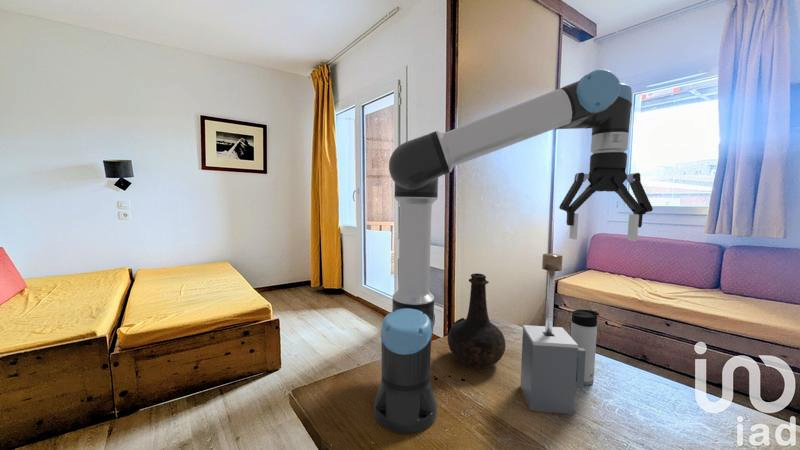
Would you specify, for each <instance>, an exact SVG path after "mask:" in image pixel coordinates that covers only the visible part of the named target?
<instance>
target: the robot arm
mask: <svg viewBox="0 0 800 450" xmlns="http://www.w3.org/2000/svg"><path fill="white" fill-rule="evenodd" d="M619 79H620V78H619V77H618V76H617V75H616V73H614V72H612V71H611V70H608V69H601V68H600V69H595V70H593V71H591V72H589V73H588V74H585V75H584V76H582V77H581V78H580V79H579V80H578V81H575V82H572V83H570V84H568V85H564V86H562V87H560V88H557V89H555V90H554V89H553V90H551V91H549V92H546V93H544V94H542V95H540V96H539V95H538V96H535V97H534V98H531V99H529V100H526V101H523V102H520V103H519V104H515V105H513V106H510V107H508V108H505V109H503V110H501V111H500V110H499V111H498V112H494V113H492V114H489V115H488V116H485V117H482V118H479V119H477V120H475V121H471V122H469V123H467V124H464V125H462V126H459V127H455V128H454V129H452V130H449V131H446V132H442V131H441V132H440V131H438V130H435V131H433V132H429V133H428V134H425V135H422V136H420V137H416V138H413V139H411V140H407V141H405V142H403V143H400V145H398V146H397V147H396V148H395V149H394V150H393V152H392V153H391V155H390V156H389V157H390V158H389V162H388V170H389V171H388V172H389V175H390V177H391V179H392V181H393V182H394V199H395V200H396V201H397V202H398V204H399V236H398V238H399V239H398V276H397V277H398V278H397V280H398V282H397V283H398V285H397V286H398V287H397V288H398V290H396V291H395V292H394V293H393V294H392V302H391V303H392V304H391V305H392V306H391V307H392V309H391V311H390V312H389V313H387V314H386V315H385V316H384V318H383V320H382V323H381V329H380V338H381V381H380V383H379V387H378V389H377V392H376V395H375V399H374V403H373V415H374V418H375V420H376V422H377V423H378V424H379V425H380V426H382V427H383V428H385V429H386V430H388V431H390V432H393V433H397V434H404V435H405V434H409V435H410V434H417V433H419V432H423V431H425V430H427V429H428V428H430V427H431V426H432V425H433V424H434V423H435V421H436V419H437V416H438V404H437V399H436V396H435V392H434V389H433V386H432V383H431V382H432V381H431V351H432V340H433V334H434V328H435V327H434V326H435V323H436V315H435V296H434V294H433V293H431V291H430V274H431V273H430V271H431V269H430V267H431V240H432V239H431V237H432V211H433V210H432V205H433V204H434V203H435V202H436V201H437V200H438V197H439V195H438V192H439V177H442V176H445V175H446V174H451V172H452V171H453V169H454V168H455V167H456V166H459V165H462V164H464V163H466V162H469V161H472V160H475V159H478V158H480V157H482V156H485V155H488V154H491V153H493V152H496V151H498V150H501V149H504V148H507V147H509V146H512V145H515V144H517V143H521V142H524V141H525V140H529V139H532V138H535V137H537V136H539V135H541V134H545V133H547V132H549V131H550V132H551V131H553V130H555V131H556V130H574V129H575V130H576V129H578V130H579V129H585V130H586V129H591V141H590V142H591V144H590V152H591V153H592V154H591V155H589V157H590V158H589V172H588V173H584V172H578V173H575V175H574V179H573V180H574V181H573V183H572V184H571V186H570V188H569V190H568V191H567V193H566V195H565V196H564V198H563V200H562V201H561V203H560V204H559V206H558V208H559V210H562V211H565V212H566V225H567V226H569V239H571V240H575V241H577V240H578V226H579V215H580V214H579V212H577V211H578V209H579V208H581V206H583V204H584V203H585V202H586V201H587V200H588V199H589V198H590V197H591V196H592V195H593V194H594V193H596V192H606V193H607V192H610V193H611V192H614V193H616V194H617V195H618V196H619V197H620V198H621V199H622V201H623V202H624V204H625V205H626V206H627V207H628V208H629V210H630V211H631V212H632V213H629V214H628V225H627V237H626V238H627V239H626V240H627V241H631V242H637V241H638V233H639V228H642V226H643V216H644V215H645V214H647V213H648V212H649V213H650V212H652V211H653V209H654V208H653V207H652V203H651V202H650V199H649V197H648V195H647V192H646V191H645V189H644V187H643V184H642V182H641V179H642V178H641V173H639V172H634V173H633V172H632V173H626V170H627V165H628V164H627V163H628V153H627V152H626V151H627V150H628V149H629V147H628V146H629V133H630V122H631V113H632V111H631V110H632V106H633V97H632V96H633V94H632V91H633V90H632V87H631V86H630V85H629V84H627V83H621V82H620V80H619ZM586 180H587V181H588V183H589V185H588V186H586V188H585V189H584V190H583V192H582V193H581V194H580V195H579V196H578V197H577V198H576V199H575V197H576V196H577V194H578V192H579V190H580V189H581V187H582V186H583V183H584V182H586ZM625 182H627V183H628V184H629V186H630V188H631V191H632V193H633V195H634V197H635V198H634V197H633V195H632V194H631V193H630V191H629V190H628V188H627V186H626V185H625V184H624V183H625ZM574 199H575V200H574Z"/></svg>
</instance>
